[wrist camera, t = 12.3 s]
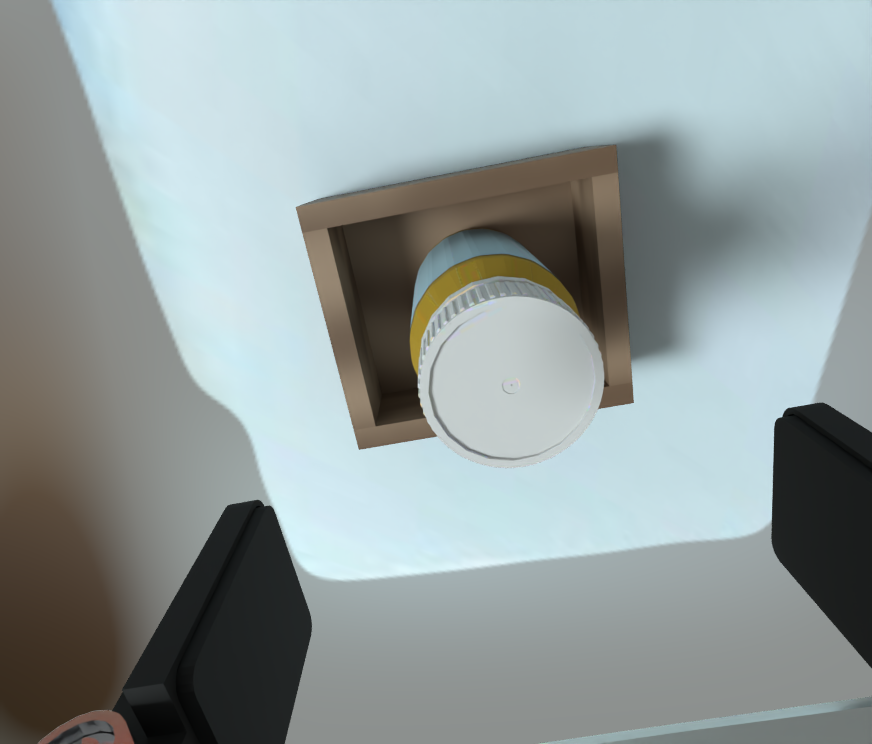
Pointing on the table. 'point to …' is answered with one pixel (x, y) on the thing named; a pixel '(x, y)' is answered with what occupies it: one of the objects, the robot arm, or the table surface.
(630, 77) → the table surface
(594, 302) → the brown box
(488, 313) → the bottle
